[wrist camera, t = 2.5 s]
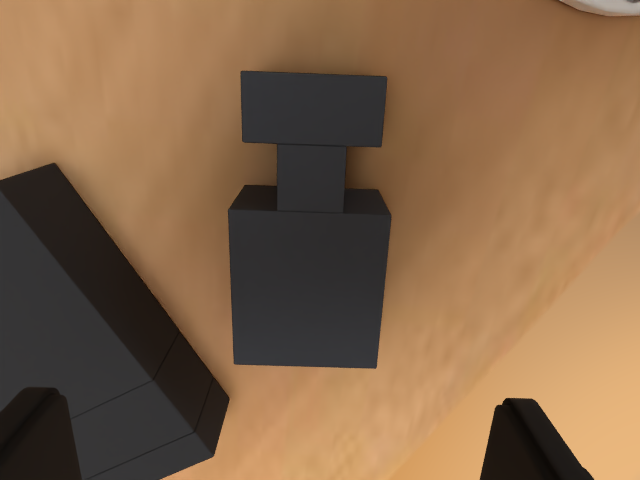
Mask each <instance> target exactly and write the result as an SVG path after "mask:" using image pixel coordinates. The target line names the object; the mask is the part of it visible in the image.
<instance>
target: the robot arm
mask: <svg viewBox="0 0 640 480" xmlns="http://www.w3.org/2000/svg"><path fill="white" fill-rule="evenodd" d="M559 1H561V2H563V3H565V4H568V5H570V6H572V7H574V8H576V9H578V10H581V11H586V12H590V13H595V14H600V15H605V16H639V15H640V0H559ZM0 480H82V477H81V472H80V466H79V461H78V456H77V451H76V445H75V440H74V435H73V429H72V424H71V419H70V414H69V408H68V403H67V399H66V397H65V396H64V395H60V393H59V391H58V389H57V388H53V387H26V388H24V389H23V390H21V391H20V392H19V393H18V394H17V395H16V396H15V397H14V398H13V399H12V400H11V401H10V403H9V404H8V405H7V406H6V407H5V408H4V409H3V410H2V411H1V412H0ZM480 480H594V479H593V477H592V476H591V475H590V473H589V472H588V471H587V470H586V469H585V468H583V467H582V466H581V464H580V463H579V462H578V460H577V459H576V457H575V456H574V454H573V453H572V452H571V450H570V449H569V447H568V446H567V444H566V443H565V442H564V441H563V439H562V437H561V436H560V434H559V433H558V432H557V430H556V429H555V427H554V426H553V424H552V423H551V422H550V420H549V419H548V417H547V416H546V414H545V413H544V412H543V410H542V409H541V407H540V406H539V405H538V403H537V402H536V401H535V400H533V399H523V398H522V399H521V398H506V399H505V400H504V401H503V403H502V405H497V406H496V408H495V411H494V416H493V421H492V425H491V430H490V435H489V439H488V444H487V448H486V453H485V458H484V462H483V467H482V472H481V476H480Z"/></svg>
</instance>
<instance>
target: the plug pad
mask: <svg viewBox="0 0 640 480" xmlns="http://www.w3.org/2000/svg"><path fill="white" fill-rule="evenodd" d="M386 89H387V77H386V76H364V75H338V74H313V73H288V72H262V71H241V110H242V141H243V142H245V143H272V144H278V145H277V186H258V185H245V186H244V187H243V189H242V190H241V192H240V193H239V195H238V196H237V197H236V199H235V200H234V202H233V203H232V205H231V206H230V208H229V209H228V223H229V249H230V275H231V301H232V328H233V354H234V364H237V365H271V366H305V367H339V368H373V369H376V368H377V359H378V348H379V338H380V328H381V318H382V308H383V298H384V287H385V277H386V267H387V257H388V247H389V237H390V226H391V214H390V212H389V210H388V208H387V206H386V204H385V202H384V200H383V198H382V196H381V194H380V193H379V191H378V190H370V189H344V187H345V170H346V152H347V147H346V146H353V147H381V146H382V136H383V124H384V112H385V100H386Z"/></svg>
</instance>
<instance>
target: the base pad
mask: <svg viewBox="0 0 640 480" xmlns="http://www.w3.org/2000/svg"><path fill="white" fill-rule="evenodd" d="M26 387H53V388H57V389H58V391H59V393H60V395H64V396H65V397H66V399H67V403H68V408H69V414H70V419H71V424H72V429H73V435H74V440H75V445H76V451H77V456H78V461H79V466H80V472H81V477H82V480H160V479H162V478H164V477H167V476H169V475H172V474H174V473H176V472H179V471H181V470H183V469H186V468H188V467H190V466H193V465H195V464H197V463H200V462H202V461H204V460H207V459H209V458H212V457H213V456H214V454H215V450H216V447H217V443H218V440H219V436H220V432H221V429H222V425H223V421H224V418H225V414H226V411H227V407H228V403H229V398H228V396H227V395H226V393H225V392H224V391H223V389H222V388H221V387H220V385H219V384H218V383H217V381H216V380H215V379H214V378H213V376H212V375H211V373H210V372H209V371H208V369H207V368H206V367H205V365H204V364H203V363H202V361H201V360H200V359H199V357H198V356H197V355H196V353H195V352H194V351H193V349H192V348H191V347H190V345H189V344H188V343H187V341H186V340H185V338H184V337H183V336H182V334H181V333H180V332H179V330H178V329H177V327H176V326H175V324H174V323H173V322H172V320H171V319H170V318H169V316H168V315H167V314H166V312H165V311H164V310H163V308H162V307H161V306H160V304H159V303H158V302H157V300H156V299H155V298H154V296H153V295H152V294H151V292H150V291H149V290H148V288H147V287H146V285H145V284H144V283H143V281H142V280H141V279H140V277H139V276H138V275H137V273H136V272H135V271H134V269H133V268H132V267H131V265H130V264H129V263H128V261H127V260H126V259H125V257H124V256H123V255H122V253H121V252H120V251H119V249H118V248H117V246H116V245H115V244H114V242H113V241H112V240H111V238H110V237H109V236H108V234H107V233H106V232H105V230H104V229H103V228H102V226H101V225H100V224H99V222H98V221H97V220H96V218H95V217H94V216H93V214H92V213H91V212H90V210H89V209H88V207H87V206H86V205H85V203H84V202H83V201H82V199H81V198H80V197H79V195H78V194H77V193H76V191H75V190H74V189H73V187H72V186H71V185H70V183H69V182H68V181H67V179H66V178H65V177H64V175H63V174H62V172H61V171H60V170H59V168H58V167H57V166H56V164H55V163H52V164H49V165H46V166H43V167H40V168H37V169H33V170H30V171H27V172H24V173H21V174H18V175H15V176H12V177H9V178H6V179H3V180H0V412H1V411H2V410H3V409H4V408H5V407H6V406H7V405H8V404H9V403H10V401H11V400H12V399H13V398H14V397H15V396H16V395H17V394H18V393H19V392H20V391H21V390H23V389H24V388H26Z"/></svg>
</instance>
